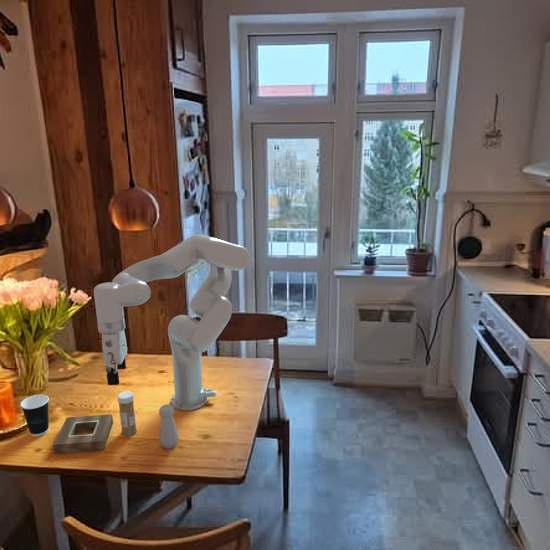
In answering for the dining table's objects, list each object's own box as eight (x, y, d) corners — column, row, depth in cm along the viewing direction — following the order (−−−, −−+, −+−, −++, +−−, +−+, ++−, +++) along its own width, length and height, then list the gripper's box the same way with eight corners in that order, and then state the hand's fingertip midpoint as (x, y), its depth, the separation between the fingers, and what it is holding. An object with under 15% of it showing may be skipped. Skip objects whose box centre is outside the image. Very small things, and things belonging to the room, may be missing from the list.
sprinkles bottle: (138, 433, 149) (135, 395, 145) (124, 438, 146) (119, 400, 143) (134, 426, 152) (130, 389, 149) (119, 431, 150) (115, 393, 146)
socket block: (113, 422, 154) (112, 413, 153) (104, 450, 141) (102, 440, 140) (68, 426, 153) (66, 417, 152) (54, 454, 139) (53, 444, 138)
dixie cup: (36, 442, 145) (31, 410, 141) (20, 435, 148) (14, 403, 145) (58, 428, 151) (54, 398, 148) (42, 422, 155) (37, 392, 152)
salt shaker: (170, 436, 147) (168, 399, 144) (183, 443, 144) (180, 406, 140) (155, 445, 143) (152, 407, 139) (167, 453, 139) (164, 414, 136)
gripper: (118, 335, 132) (124, 390, 137) (130, 313, 149) (135, 362, 154) (90, 337, 131) (97, 392, 136) (105, 314, 148) (111, 363, 153)
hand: (117, 376), depth 145 cm, fingers open, 9 cm apart
